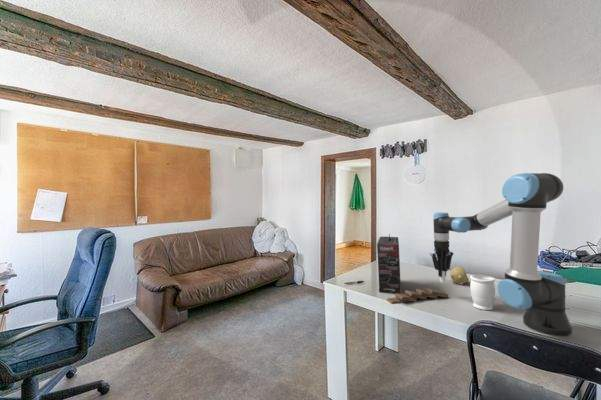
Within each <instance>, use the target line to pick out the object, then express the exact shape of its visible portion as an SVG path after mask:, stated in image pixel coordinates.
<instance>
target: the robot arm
mask: <svg viewBox="0 0 601 400" xmlns="http://www.w3.org/2000/svg"><path fill="white" fill-rule="evenodd" d="M563 192H564V183H563V180H562V179H561V178H559V177H558V175H557V176H556V175H555V174H553V173H546V172H541V173H538V172H537V173H533V172H532V173H531V172H525V173H524V172H523V173H517V174H513V175H512V176H510V177H509V178H507V179H506V180H505V181H504V183H503V185H502V189H501V193H502V194H501V195H502V197H503V198H505V199H504V200H501V201H500V202H498V203H496V204H494V205H492V206H490V207H488V208H486V209H484V210H481V211H480V212H477V213H476V214H474V215H472V216H456V217H455V216H449V213H448V212H443V211H441V212H434V213H433V239H434V240H433V247H434V248H433V252H430V254H429V255H430V256H431V260H432V262H433V267H434V270H436V271H438V272H437V273H438V274H437V275H438V277H439V283H442V284H445V283H446V277H447V272H448V271H449V270H450V269H451V263H452V258H453V256H454V252H453V251H451V250H450V241H449V240H450V232H456V233H460V234H461V233H467V232H469V231H470V232H471V231H472V232H473V231H482V230H485V229H487V228H488V227H489V226H490V225H493V224H495V223H497V222H499V221H502V220H503V219H507V218H508V217H511V216H512V218H511V233H510V234H511V237H510V252H509V255H510V256H509V268H507V269H506V270H504V279H501V280H500V281H499V282H498V283H497V286H496V289H497V293H498V295H499V298H500V299H502V301H503V302H504V303H506V305H507V306H509V307H511V308H513V309H517V310H522V309H524V310H525V309H526V310H525V312H524V314H523V317H522V318H523V319H522V320H523V321H522V322H523V324H524V325H525V326H526V327H528V328H530V329H532V330H534V331H537V332H539V333H542V334H546V335H551V336H557V337H566V336H571V335H572V334H573V327H572V325H571V323H570V320H569V317H568V315H567V313H566V312H567V311H566V283H565V282H566V281H565V277H563V276H562V275H560V274H558V273H552V272H550V271H549V272H548V271H545V270H544V271H543V270H538V262H539V261H538V260H539V246H540V245H539V244H540V231H541V230H540V228H541V216H542V215H541V214H542V212H543V211H545V210H546V209H547V204H548V203H550V202H553V201H555V200H557V199H558V198H559V197H561V195H562V194H563Z"/></svg>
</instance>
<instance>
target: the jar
mask: <svg viewBox="0 0 601 400" xmlns="http://www.w3.org/2000/svg"><path fill="white" fill-rule="evenodd" d="M469 278H470V287H469V288H470V289H469V290H470V294H471V299H472V301H473V303H472V306H473V307H474V308H475V309H479V310H481V311H491V310H493V309H494V306H493V304H494V302H495V296H496V286H495V283H494V282H495V281H496V278H495V277H493V276H491V275H490V276H489V275H485V274H472V275H470V276H469Z"/></svg>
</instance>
